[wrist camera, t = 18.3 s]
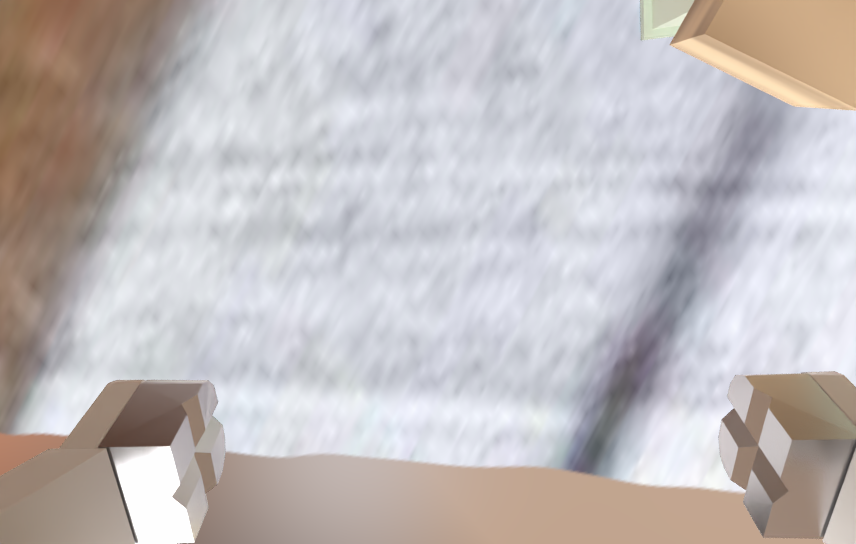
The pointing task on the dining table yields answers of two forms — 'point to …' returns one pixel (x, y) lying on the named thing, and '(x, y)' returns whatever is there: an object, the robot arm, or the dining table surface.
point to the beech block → (779, 46)
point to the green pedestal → (662, 17)
